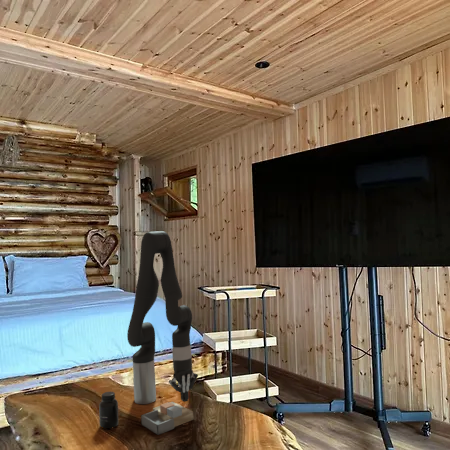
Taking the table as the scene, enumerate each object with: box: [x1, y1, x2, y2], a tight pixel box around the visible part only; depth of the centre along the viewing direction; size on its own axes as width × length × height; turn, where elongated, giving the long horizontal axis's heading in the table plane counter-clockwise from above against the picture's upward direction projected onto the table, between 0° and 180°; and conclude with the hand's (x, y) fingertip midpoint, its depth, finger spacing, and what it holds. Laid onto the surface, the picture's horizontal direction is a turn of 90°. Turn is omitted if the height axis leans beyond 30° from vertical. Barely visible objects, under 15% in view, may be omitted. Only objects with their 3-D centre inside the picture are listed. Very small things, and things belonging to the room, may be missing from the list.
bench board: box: [152, 401, 194, 428], centre depth 161 cm, size 14×9×3 cm, turn 40°
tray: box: [140, 410, 175, 435], centre depth 154 cm, size 12×7×4 cm, turn 40°
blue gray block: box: [167, 406, 182, 418], centre depth 156 cm, size 4×4×2 cm
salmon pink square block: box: [159, 401, 175, 414], centre depth 160 cm, size 4×4×2 cm
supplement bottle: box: [98, 391, 119, 429], centre depth 157 cm, size 7×7×12 cm
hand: (184, 400), depth 165 cm, fingers closed
